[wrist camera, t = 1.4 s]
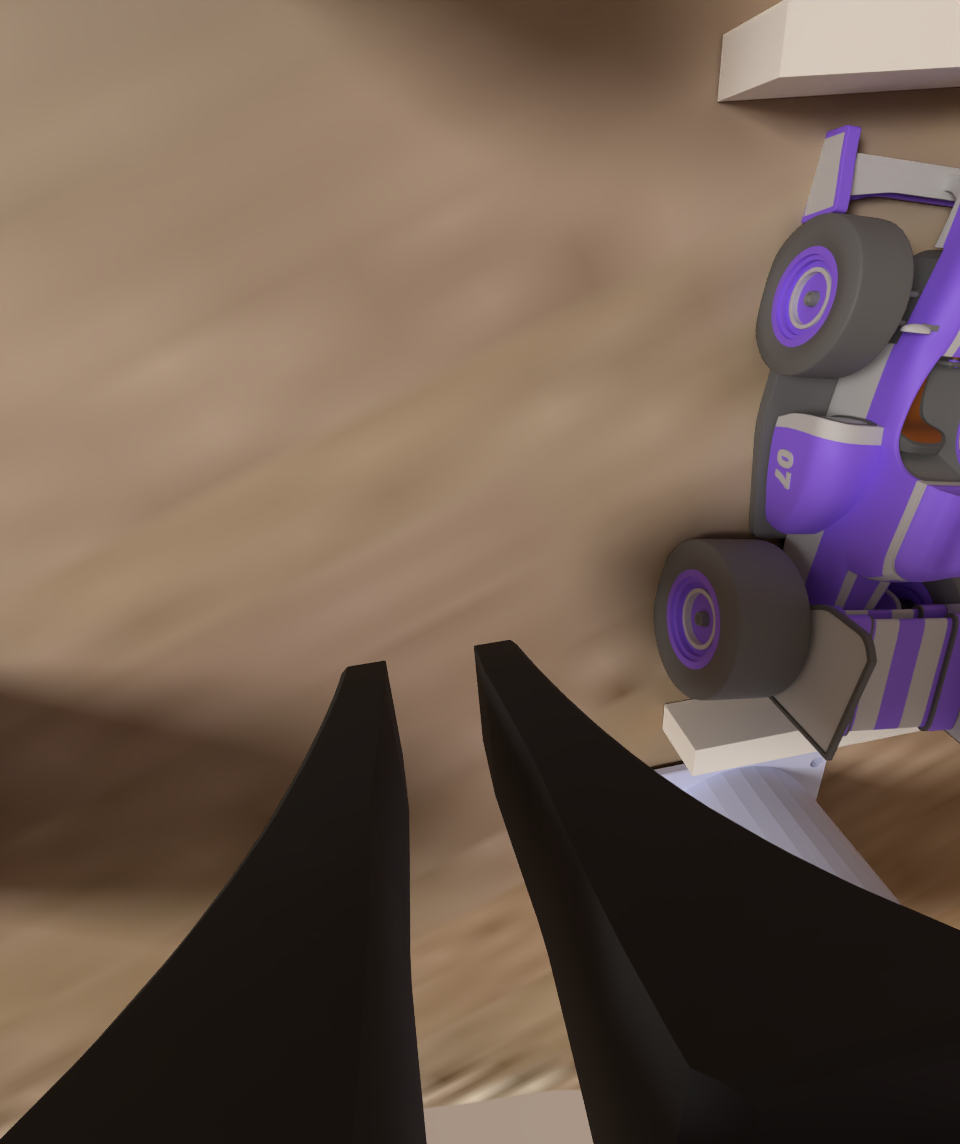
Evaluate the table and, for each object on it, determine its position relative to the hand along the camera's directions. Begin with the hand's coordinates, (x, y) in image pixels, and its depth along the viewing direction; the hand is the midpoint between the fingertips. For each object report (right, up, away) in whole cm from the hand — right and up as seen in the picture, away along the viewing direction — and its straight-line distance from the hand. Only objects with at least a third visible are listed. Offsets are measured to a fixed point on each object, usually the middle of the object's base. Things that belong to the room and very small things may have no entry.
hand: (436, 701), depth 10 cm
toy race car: (+12, +6, +9) cm, 16 cm away
